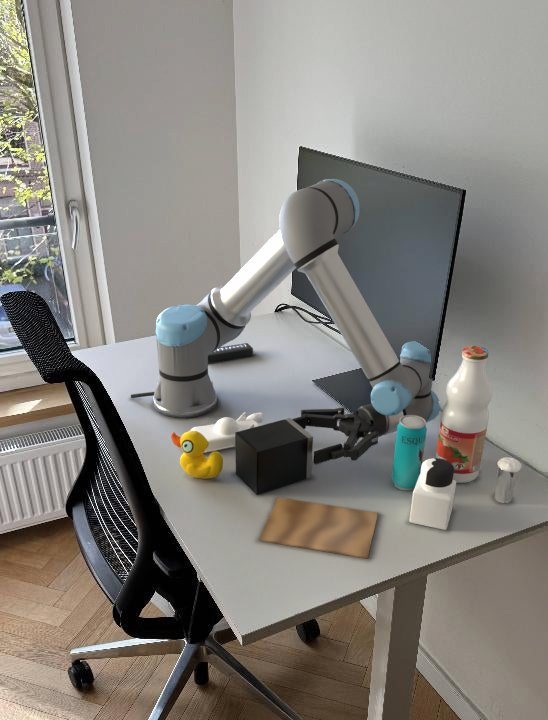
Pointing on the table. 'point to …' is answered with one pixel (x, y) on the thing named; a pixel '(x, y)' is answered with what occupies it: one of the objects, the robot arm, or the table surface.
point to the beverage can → (408, 452)
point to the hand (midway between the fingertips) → (296, 443)
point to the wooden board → (320, 527)
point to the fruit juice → (466, 416)
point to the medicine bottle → (433, 494)
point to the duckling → (197, 455)
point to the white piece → (227, 430)
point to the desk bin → (273, 455)
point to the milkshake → (506, 478)
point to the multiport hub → (230, 353)
